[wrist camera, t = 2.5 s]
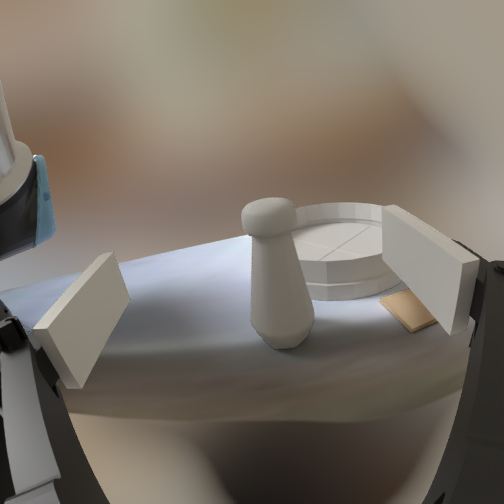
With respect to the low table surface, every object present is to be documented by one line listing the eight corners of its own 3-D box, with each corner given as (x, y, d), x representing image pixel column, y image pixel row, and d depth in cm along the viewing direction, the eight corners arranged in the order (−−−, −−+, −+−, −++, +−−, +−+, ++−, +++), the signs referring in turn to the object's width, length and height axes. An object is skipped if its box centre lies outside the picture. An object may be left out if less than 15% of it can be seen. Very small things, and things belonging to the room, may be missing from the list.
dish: (224, 272, 45) (217, 239, 43) (319, 223, 57) (316, 197, 55) (364, 326, 28) (365, 282, 27) (434, 245, 41) (435, 213, 39)
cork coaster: (411, 332, 26) (412, 328, 25) (379, 302, 31) (379, 298, 31) (455, 312, 26) (456, 308, 26) (421, 287, 32) (422, 283, 32)
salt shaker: (246, 329, 31) (221, 202, 26) (297, 311, 32) (283, 188, 27) (269, 364, 26) (243, 218, 21) (326, 340, 27) (318, 200, 22)
